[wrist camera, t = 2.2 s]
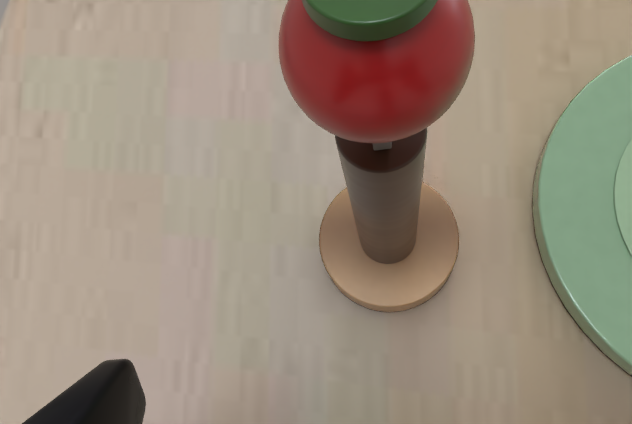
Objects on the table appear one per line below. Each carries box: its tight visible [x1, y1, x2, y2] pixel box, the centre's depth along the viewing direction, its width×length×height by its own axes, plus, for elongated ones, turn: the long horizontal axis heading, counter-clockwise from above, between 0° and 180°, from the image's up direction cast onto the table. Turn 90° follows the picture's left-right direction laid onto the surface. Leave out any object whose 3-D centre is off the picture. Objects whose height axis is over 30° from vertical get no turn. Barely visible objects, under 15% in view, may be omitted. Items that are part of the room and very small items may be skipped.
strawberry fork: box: [279, 0, 475, 312], centre depth 14 cm, size 5×5×14 cm
